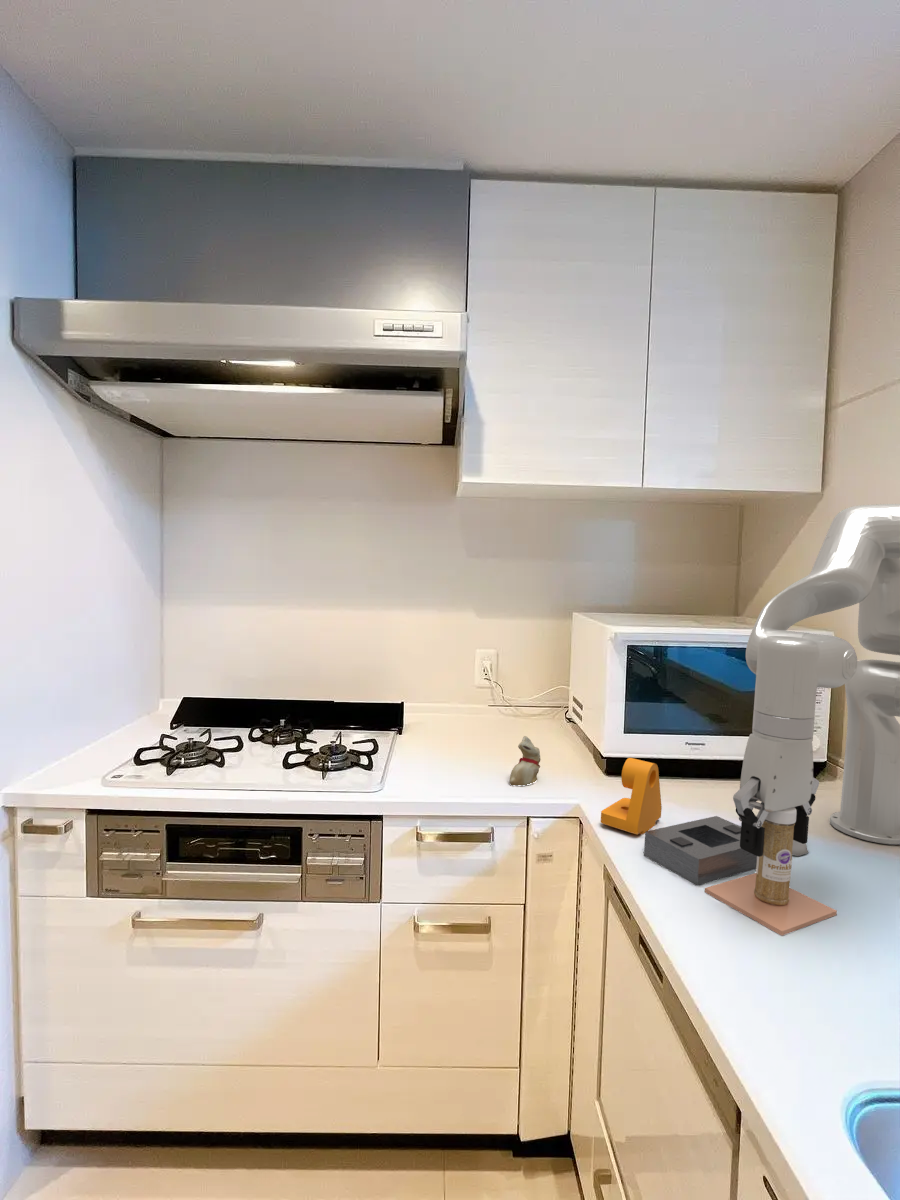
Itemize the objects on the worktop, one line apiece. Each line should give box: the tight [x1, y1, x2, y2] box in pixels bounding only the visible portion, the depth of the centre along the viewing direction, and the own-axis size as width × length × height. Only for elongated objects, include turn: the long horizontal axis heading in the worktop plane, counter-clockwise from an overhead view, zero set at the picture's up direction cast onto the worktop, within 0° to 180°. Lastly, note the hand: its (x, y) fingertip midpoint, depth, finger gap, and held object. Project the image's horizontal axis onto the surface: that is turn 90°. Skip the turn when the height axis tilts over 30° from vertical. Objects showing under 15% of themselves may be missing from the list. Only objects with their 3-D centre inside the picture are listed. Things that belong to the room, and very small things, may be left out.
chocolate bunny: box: [509, 735, 541, 786], centre depth 137 cm, size 6×8×10 cm
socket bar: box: [643, 815, 757, 886], centre depth 103 cm, size 17×11×4 cm, turn 119°
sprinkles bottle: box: [754, 801, 797, 905], centre depth 91 cm, size 5×5×14 cm
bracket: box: [600, 757, 663, 835], centre depth 117 cm, size 11×7×12 cm, turn 141°
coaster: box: [704, 872, 838, 937], centre depth 91 cm, size 12×12×1 cm
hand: (773, 845), depth 90 cm, fingers open, 9 cm apart
